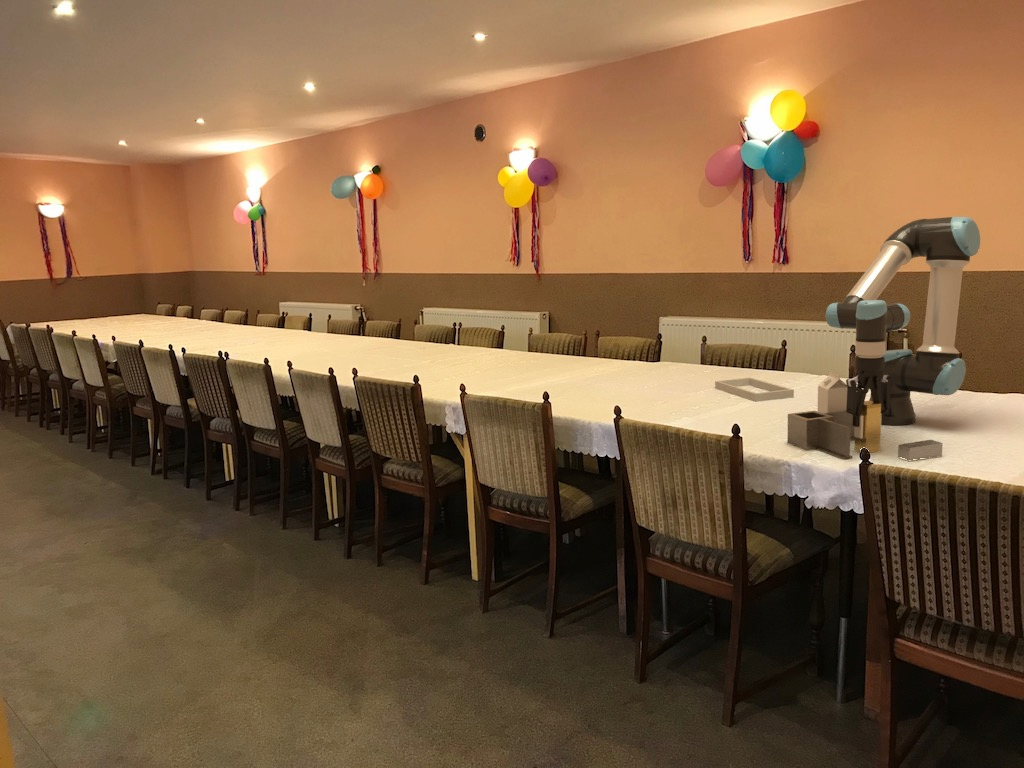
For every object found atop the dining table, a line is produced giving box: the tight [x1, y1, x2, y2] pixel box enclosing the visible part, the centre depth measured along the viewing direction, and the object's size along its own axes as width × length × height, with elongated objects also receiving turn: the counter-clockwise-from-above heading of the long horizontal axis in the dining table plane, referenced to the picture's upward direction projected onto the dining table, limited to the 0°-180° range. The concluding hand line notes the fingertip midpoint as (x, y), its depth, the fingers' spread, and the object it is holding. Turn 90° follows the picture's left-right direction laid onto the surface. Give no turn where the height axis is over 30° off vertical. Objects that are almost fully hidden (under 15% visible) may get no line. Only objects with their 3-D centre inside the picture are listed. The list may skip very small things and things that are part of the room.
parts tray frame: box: [714, 377, 795, 403], centre depth 300 cm, size 16×30×3 cm, turn 14°
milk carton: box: [817, 371, 847, 413], centre depth 233 cm, size 7×7×19 cm
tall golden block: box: [854, 400, 881, 454], centre depth 213 cm, size 5×5×14 cm
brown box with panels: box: [787, 410, 855, 461], centre depth 219 cm, size 21×21×9 cm
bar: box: [897, 439, 943, 460], centre depth 206 cm, size 11×4×4 cm, turn 106°
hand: (867, 435), depth 214 cm, fingers open, 5 cm apart
